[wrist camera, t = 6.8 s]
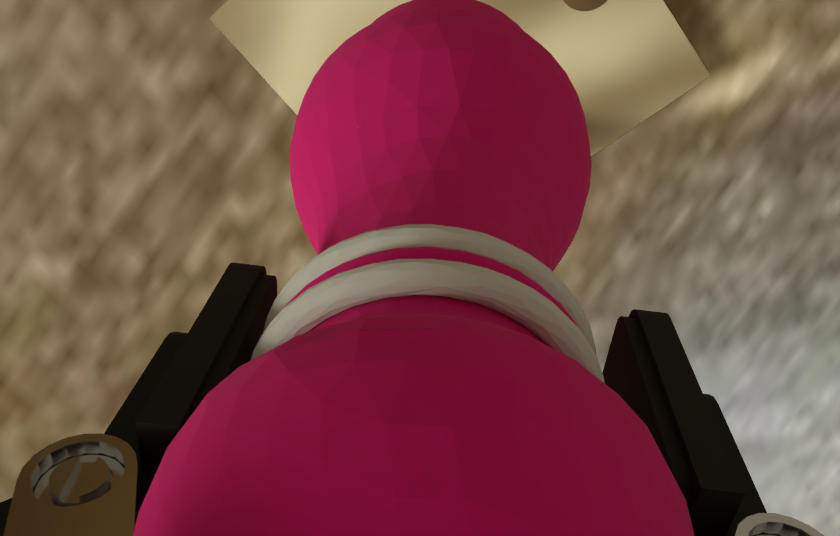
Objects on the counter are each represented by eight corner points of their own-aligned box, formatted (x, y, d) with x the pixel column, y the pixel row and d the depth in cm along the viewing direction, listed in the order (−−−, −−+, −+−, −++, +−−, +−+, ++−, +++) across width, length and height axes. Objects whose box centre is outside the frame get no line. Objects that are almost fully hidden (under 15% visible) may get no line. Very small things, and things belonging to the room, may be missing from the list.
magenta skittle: (510, -75, 19) (986, 866, 2) (600, 159, 22) (1074, 1286, 5) (276, 45, 21) (-574, 1051, 4) (391, 244, 24) (221, 1267, 7)
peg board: (701, 66, 34) (756, 117, 27) (434, 250, 39) (426, 329, 33) (495, -258, 28) (502, -292, 22) (219, 12, 34) (159, 49, 27)
